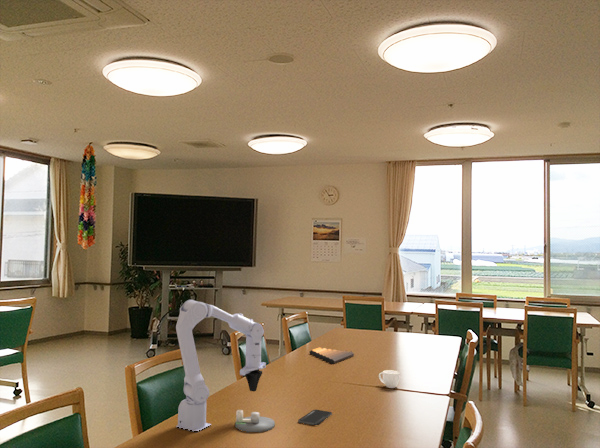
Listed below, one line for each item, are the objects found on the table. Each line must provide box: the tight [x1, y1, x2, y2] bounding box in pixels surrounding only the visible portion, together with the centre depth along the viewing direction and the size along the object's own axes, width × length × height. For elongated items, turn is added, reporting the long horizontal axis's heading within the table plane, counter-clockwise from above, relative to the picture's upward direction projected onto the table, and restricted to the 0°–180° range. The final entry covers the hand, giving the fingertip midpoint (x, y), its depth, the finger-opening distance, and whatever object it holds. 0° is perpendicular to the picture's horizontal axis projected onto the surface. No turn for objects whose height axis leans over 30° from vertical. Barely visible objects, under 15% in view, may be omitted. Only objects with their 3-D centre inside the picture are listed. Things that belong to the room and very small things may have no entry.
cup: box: [378, 369, 401, 389], centre depth 233 cm, size 8×10×7 cm
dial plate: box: [234, 415, 276, 433], centre depth 178 cm, size 14×14×1 cm
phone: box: [297, 409, 333, 426], centre depth 187 cm, size 8×1×15 cm
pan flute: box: [309, 346, 355, 365], centre depth 294 cm, size 25×3×25 cm
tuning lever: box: [235, 409, 260, 423], centre depth 179 cm, size 8×3×4 cm, turn 88°
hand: (252, 390), depth 189 cm, fingers closed
